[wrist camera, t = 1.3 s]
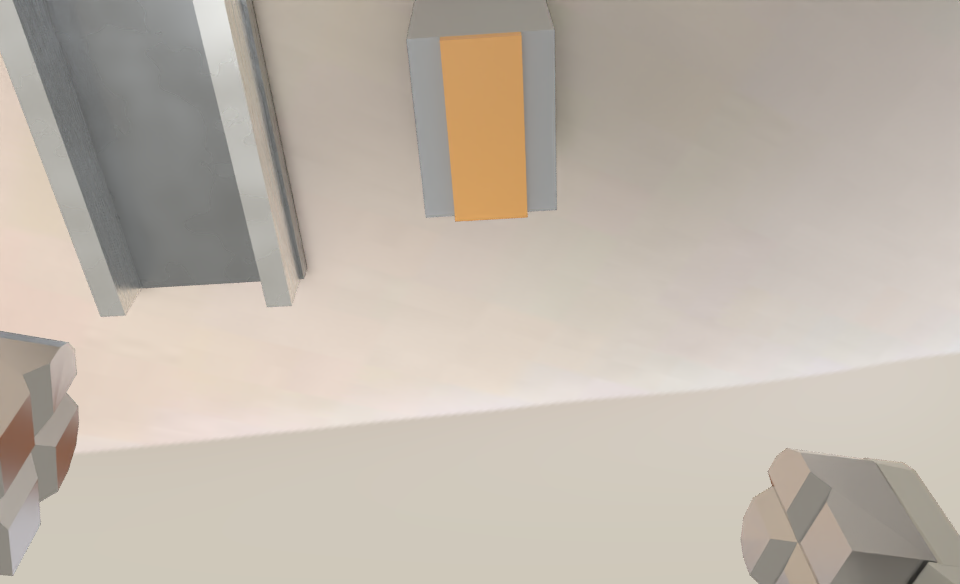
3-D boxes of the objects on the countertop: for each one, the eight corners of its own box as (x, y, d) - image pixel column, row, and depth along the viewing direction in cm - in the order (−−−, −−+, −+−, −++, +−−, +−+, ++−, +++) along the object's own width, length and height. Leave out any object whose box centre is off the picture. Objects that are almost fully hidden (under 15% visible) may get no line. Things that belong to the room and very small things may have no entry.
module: (540, -16, 29) (555, 33, 24) (544, 143, 33) (557, 215, 28) (416, -8, 29) (405, 42, 24) (432, 150, 33) (425, 223, 28)
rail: (188, -309, 24) (159, -315, 22) (306, 268, 35) (295, 305, 33) (-79, -290, 25) (-136, -293, 22) (121, 279, 36) (97, 317, 33)
